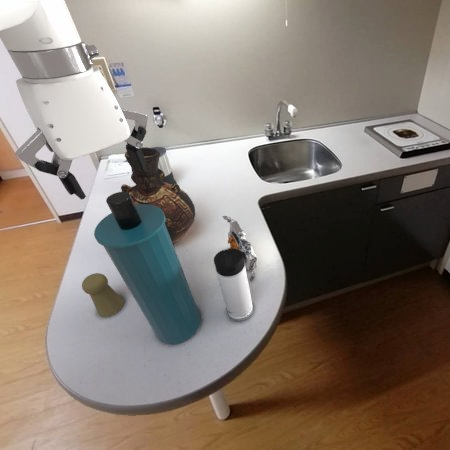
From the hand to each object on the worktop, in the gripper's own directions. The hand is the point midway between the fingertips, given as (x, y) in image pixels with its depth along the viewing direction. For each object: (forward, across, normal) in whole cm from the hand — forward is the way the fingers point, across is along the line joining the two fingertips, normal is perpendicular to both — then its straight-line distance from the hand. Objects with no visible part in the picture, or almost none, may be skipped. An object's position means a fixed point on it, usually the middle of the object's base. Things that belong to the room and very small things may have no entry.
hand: (111, 181), depth 48 cm
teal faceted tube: (+40, 0, 0) cm, 41 cm away
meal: (+41, -23, -3) cm, 47 cm away
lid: (+9, 0, 0) cm, 9 cm away
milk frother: (+41, -30, -54) cm, 74 cm away
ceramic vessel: (+41, -16, -30) cm, 53 cm away
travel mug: (+41, -12, +9) cm, 43 cm away
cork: (+41, +8, -18) cm, 45 cm away
